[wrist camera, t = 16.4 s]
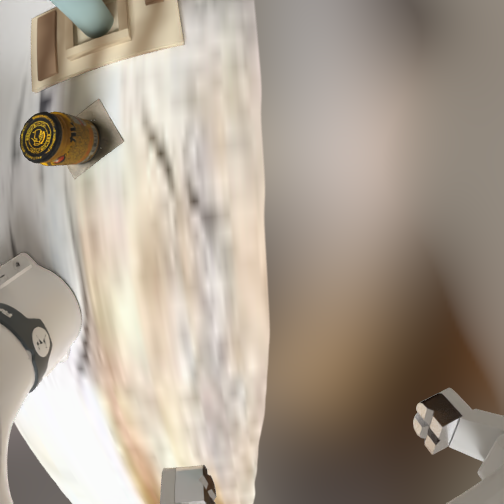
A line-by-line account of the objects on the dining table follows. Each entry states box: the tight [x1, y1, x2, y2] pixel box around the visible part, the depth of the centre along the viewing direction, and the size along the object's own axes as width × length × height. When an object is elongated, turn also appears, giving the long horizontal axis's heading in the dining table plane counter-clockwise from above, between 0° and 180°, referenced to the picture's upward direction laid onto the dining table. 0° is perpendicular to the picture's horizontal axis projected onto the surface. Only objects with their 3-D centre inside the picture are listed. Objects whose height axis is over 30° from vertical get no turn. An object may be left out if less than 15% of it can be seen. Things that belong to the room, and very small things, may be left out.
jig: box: [31, 0, 184, 93], centre depth 30 cm, size 22×13×3 cm, turn 99°
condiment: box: [20, 99, 124, 179], centre depth 30 cm, size 7×8×12 cm
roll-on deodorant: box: [50, 0, 114, 38], centre depth 23 cm, size 4×4×15 cm
